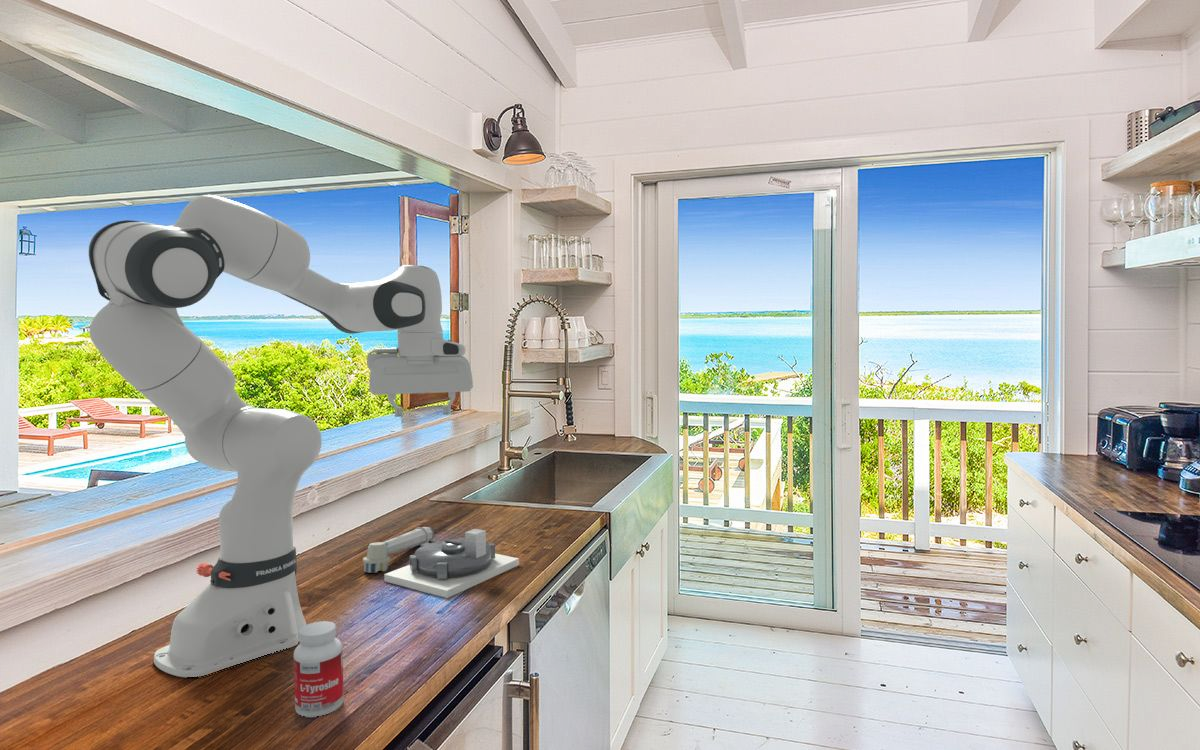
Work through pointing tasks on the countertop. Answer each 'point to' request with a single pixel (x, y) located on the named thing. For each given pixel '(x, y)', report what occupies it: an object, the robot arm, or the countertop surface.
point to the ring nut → (454, 556)
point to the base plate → (449, 578)
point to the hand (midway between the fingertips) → (423, 415)
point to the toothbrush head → (394, 548)
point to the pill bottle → (318, 670)
